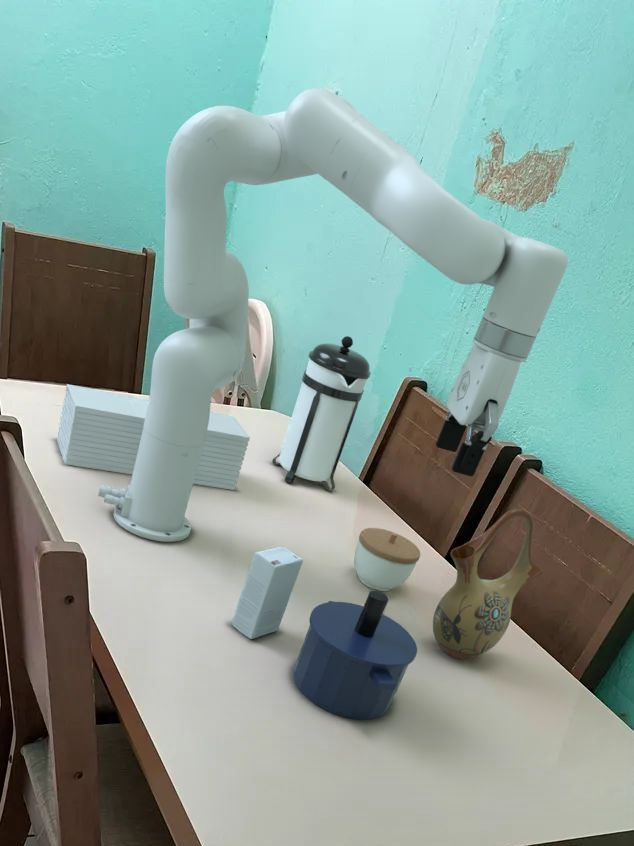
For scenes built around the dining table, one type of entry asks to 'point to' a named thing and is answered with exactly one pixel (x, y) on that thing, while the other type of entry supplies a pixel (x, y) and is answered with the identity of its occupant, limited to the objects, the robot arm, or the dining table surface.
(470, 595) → the ceramic vessel
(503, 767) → the dining table surface
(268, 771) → the dining table surface
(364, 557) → the trinket box
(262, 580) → the cosmetic box
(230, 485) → the white ridged box
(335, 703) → the pot
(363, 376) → the coffee press
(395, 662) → the lid
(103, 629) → the dining table surface
